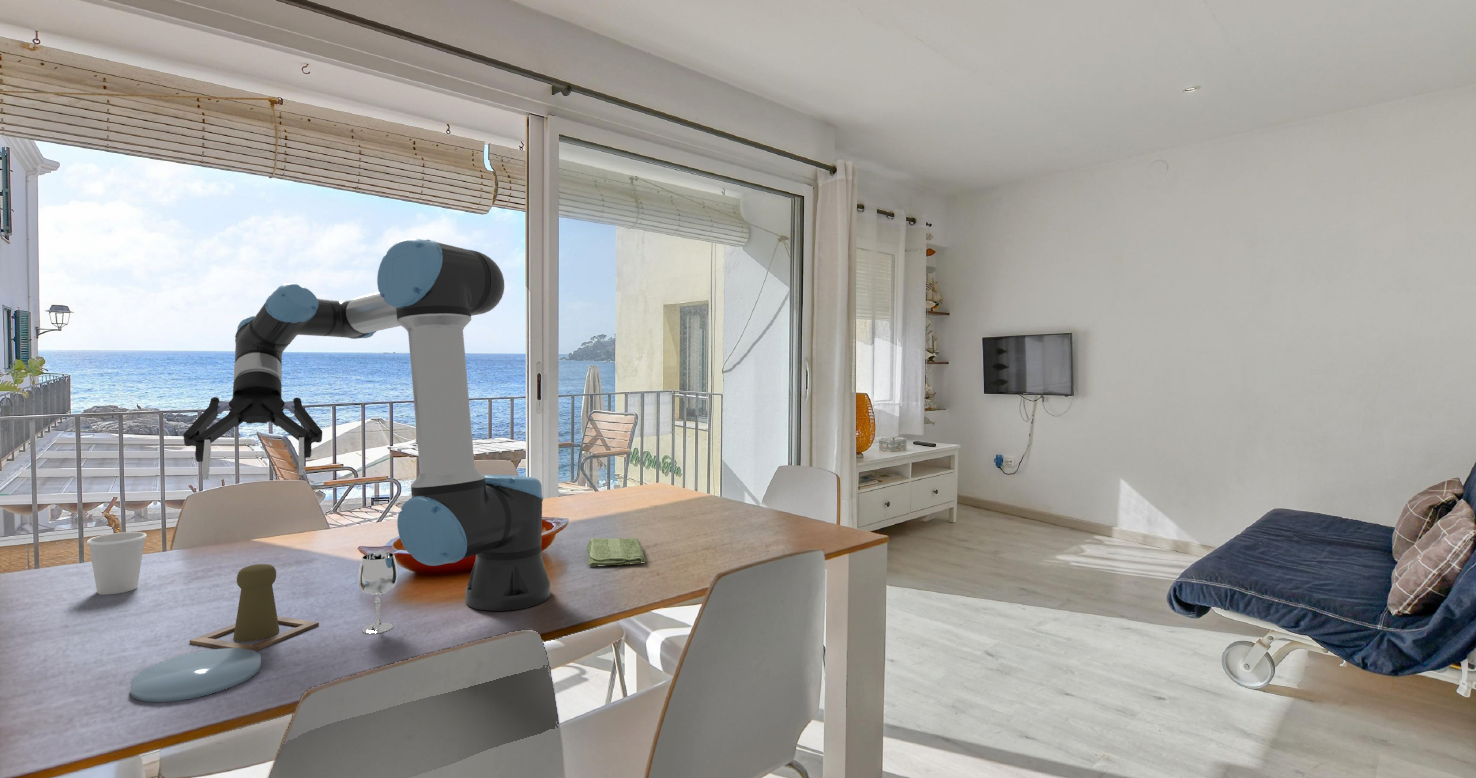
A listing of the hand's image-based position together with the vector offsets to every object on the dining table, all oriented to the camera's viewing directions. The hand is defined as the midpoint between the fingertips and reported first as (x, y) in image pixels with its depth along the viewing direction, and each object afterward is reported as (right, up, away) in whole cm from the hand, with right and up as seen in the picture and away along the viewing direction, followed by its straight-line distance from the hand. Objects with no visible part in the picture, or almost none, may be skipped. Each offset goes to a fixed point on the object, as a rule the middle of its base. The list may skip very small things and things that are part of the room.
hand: (255, 472), depth 118 cm
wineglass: (+24, -25, -6) cm, 35 cm away
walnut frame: (+7, -25, -9) cm, 27 cm away
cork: (+7, -25, -9) cm, 27 cm away
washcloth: (+55, -25, +40) cm, 73 cm away
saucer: (+10, -25, -25) cm, 36 cm away
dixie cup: (-33, -23, +11) cm, 42 cm away
